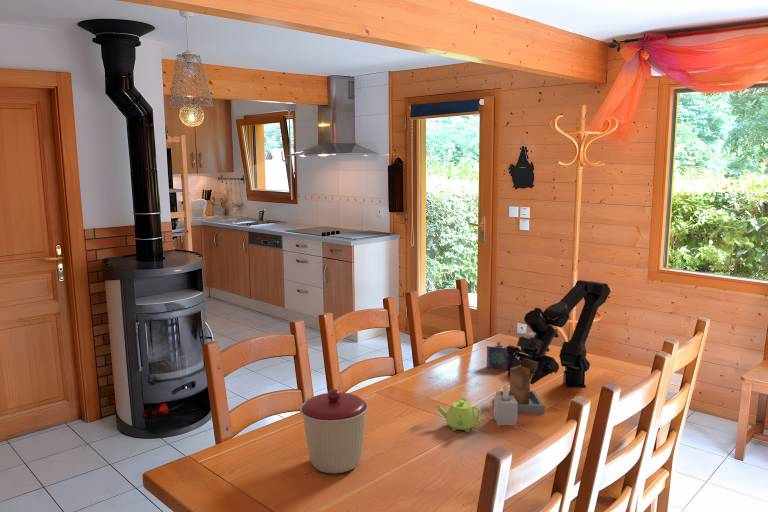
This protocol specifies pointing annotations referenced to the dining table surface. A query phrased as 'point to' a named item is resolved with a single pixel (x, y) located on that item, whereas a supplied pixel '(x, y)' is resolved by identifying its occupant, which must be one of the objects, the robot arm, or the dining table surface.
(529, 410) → the tray
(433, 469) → the dining table surface
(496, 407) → the grey soap dispenser
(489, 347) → the flask
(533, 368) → the pillar candle
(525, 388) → the walnut block
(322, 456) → the canister
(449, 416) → the teapot
